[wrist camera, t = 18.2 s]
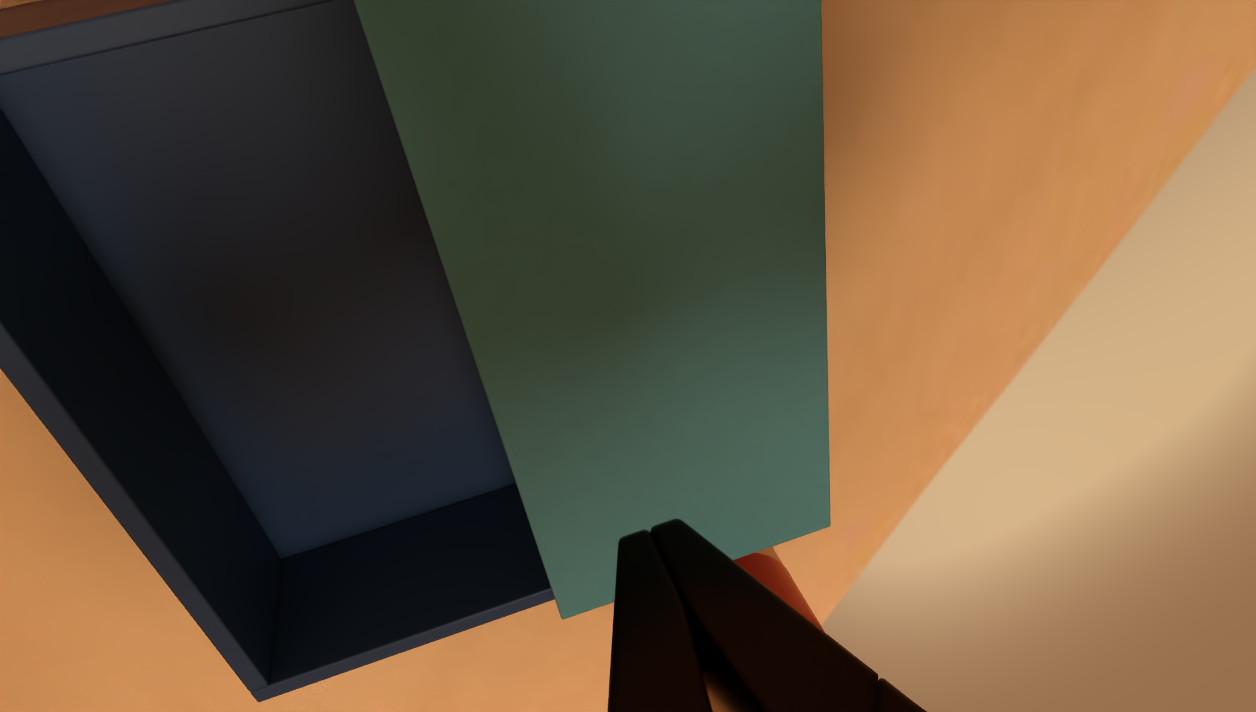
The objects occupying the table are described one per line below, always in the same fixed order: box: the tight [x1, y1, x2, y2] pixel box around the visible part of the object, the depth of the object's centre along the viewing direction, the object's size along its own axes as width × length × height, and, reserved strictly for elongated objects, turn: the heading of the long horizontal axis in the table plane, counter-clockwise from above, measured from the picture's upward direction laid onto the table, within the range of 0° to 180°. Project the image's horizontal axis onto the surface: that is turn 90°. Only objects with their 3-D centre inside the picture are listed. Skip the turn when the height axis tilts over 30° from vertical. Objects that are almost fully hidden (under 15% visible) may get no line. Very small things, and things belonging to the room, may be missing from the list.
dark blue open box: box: [0, 0, 555, 702], centre depth 19 cm, size 16×16×5 cm
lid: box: [354, 0, 830, 619], centre depth 17 cm, size 8×16×1 cm, turn 10°
